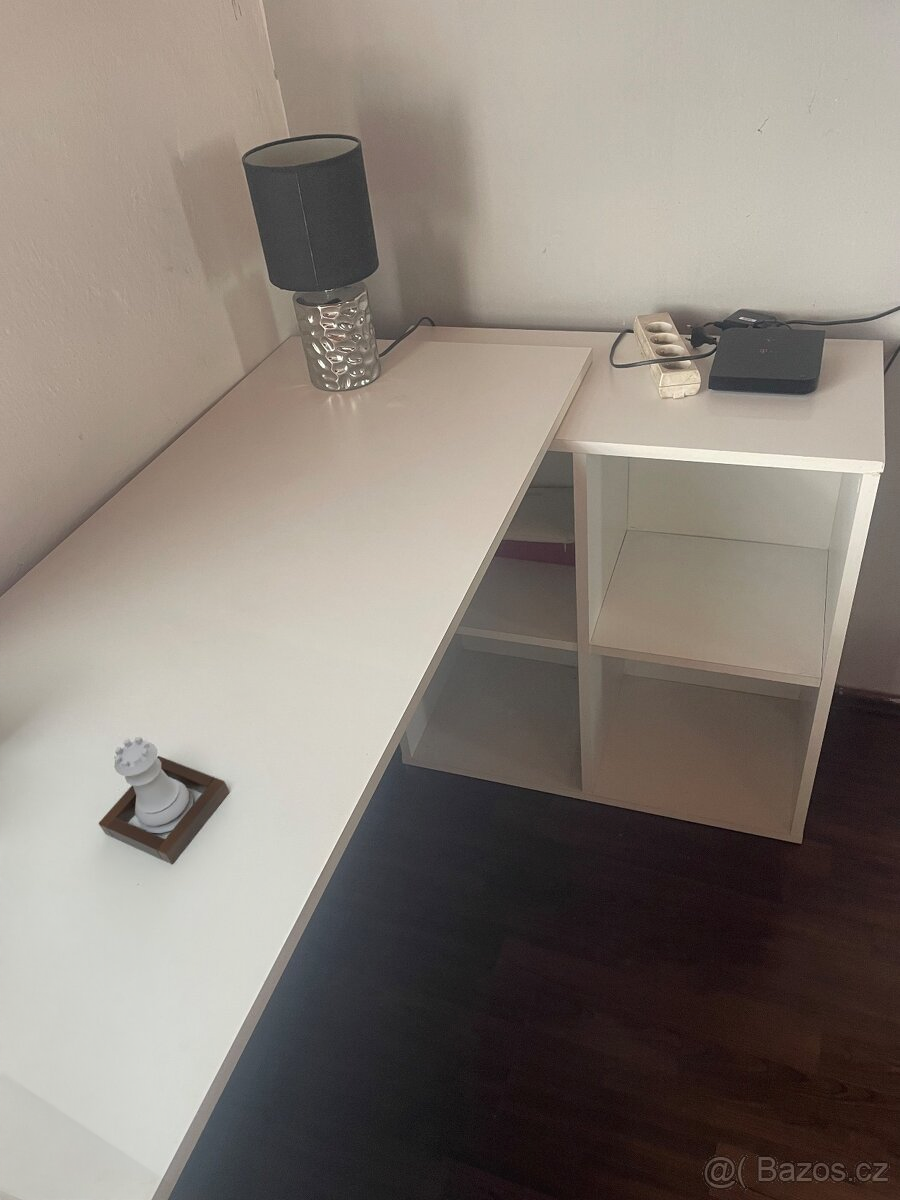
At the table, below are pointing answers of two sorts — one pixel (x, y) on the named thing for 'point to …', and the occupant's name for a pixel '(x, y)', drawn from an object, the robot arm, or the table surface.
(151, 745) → the rook chess piece
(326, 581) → the table surface
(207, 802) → the holder collar
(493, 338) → the table surface
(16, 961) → the table surface
